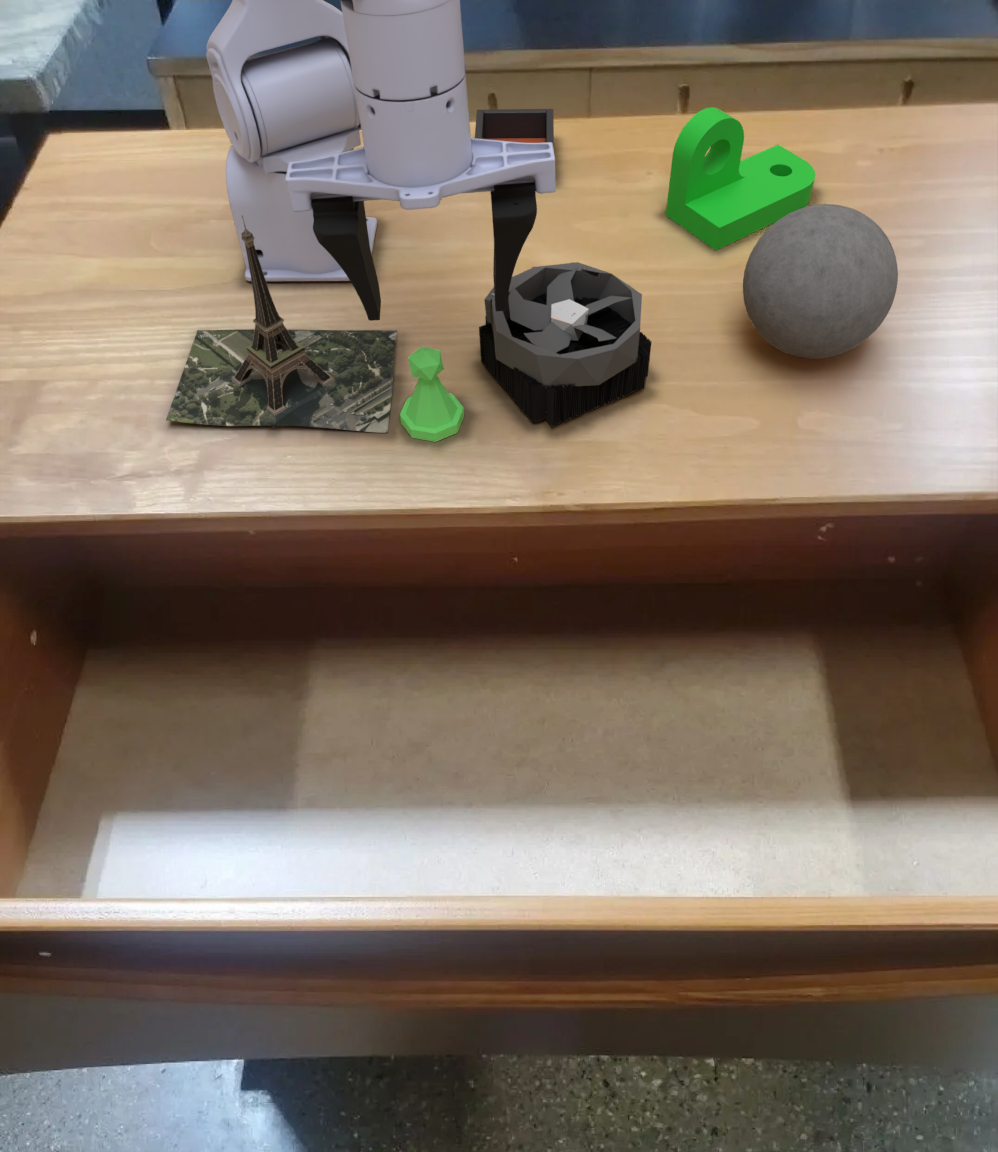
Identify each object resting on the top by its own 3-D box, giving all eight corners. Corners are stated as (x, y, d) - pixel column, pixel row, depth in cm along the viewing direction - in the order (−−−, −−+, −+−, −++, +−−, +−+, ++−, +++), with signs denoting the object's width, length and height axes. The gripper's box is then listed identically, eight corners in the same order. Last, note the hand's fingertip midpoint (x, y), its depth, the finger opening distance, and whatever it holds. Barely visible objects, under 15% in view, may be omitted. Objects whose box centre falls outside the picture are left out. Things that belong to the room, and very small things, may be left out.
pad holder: (475, 183, 87) (473, 150, 84) (478, 142, 91) (476, 109, 88) (553, 183, 86) (553, 149, 84) (552, 141, 90) (553, 108, 88)
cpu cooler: (675, 322, 66) (539, 377, 63) (666, 389, 70) (539, 443, 67) (588, 241, 71) (460, 288, 68) (585, 308, 76) (465, 355, 73)
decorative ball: (757, 397, 70) (787, 273, 62) (714, 307, 76) (736, 183, 68) (897, 378, 70) (944, 253, 62) (844, 290, 76) (880, 166, 69)
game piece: (467, 438, 68) (463, 368, 63) (403, 445, 68) (393, 375, 63) (461, 394, 70) (455, 324, 66) (398, 401, 70) (389, 331, 65)
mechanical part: (715, 250, 80) (731, 154, 74) (665, 215, 83) (676, 120, 77) (825, 198, 84) (849, 103, 78) (773, 166, 87) (792, 72, 81)
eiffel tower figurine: (401, 335, 75) (380, 165, 64) (387, 433, 68) (361, 262, 58) (198, 334, 75) (144, 165, 65) (166, 431, 69) (100, 262, 58)
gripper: (258, 124, 49) (313, 354, 60) (558, 100, 49) (561, 336, 59) (274, 63, 54) (323, 287, 64) (547, 41, 54) (553, 269, 64)
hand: (437, 306), depth 62 cm, fingers open, 7 cm apart
